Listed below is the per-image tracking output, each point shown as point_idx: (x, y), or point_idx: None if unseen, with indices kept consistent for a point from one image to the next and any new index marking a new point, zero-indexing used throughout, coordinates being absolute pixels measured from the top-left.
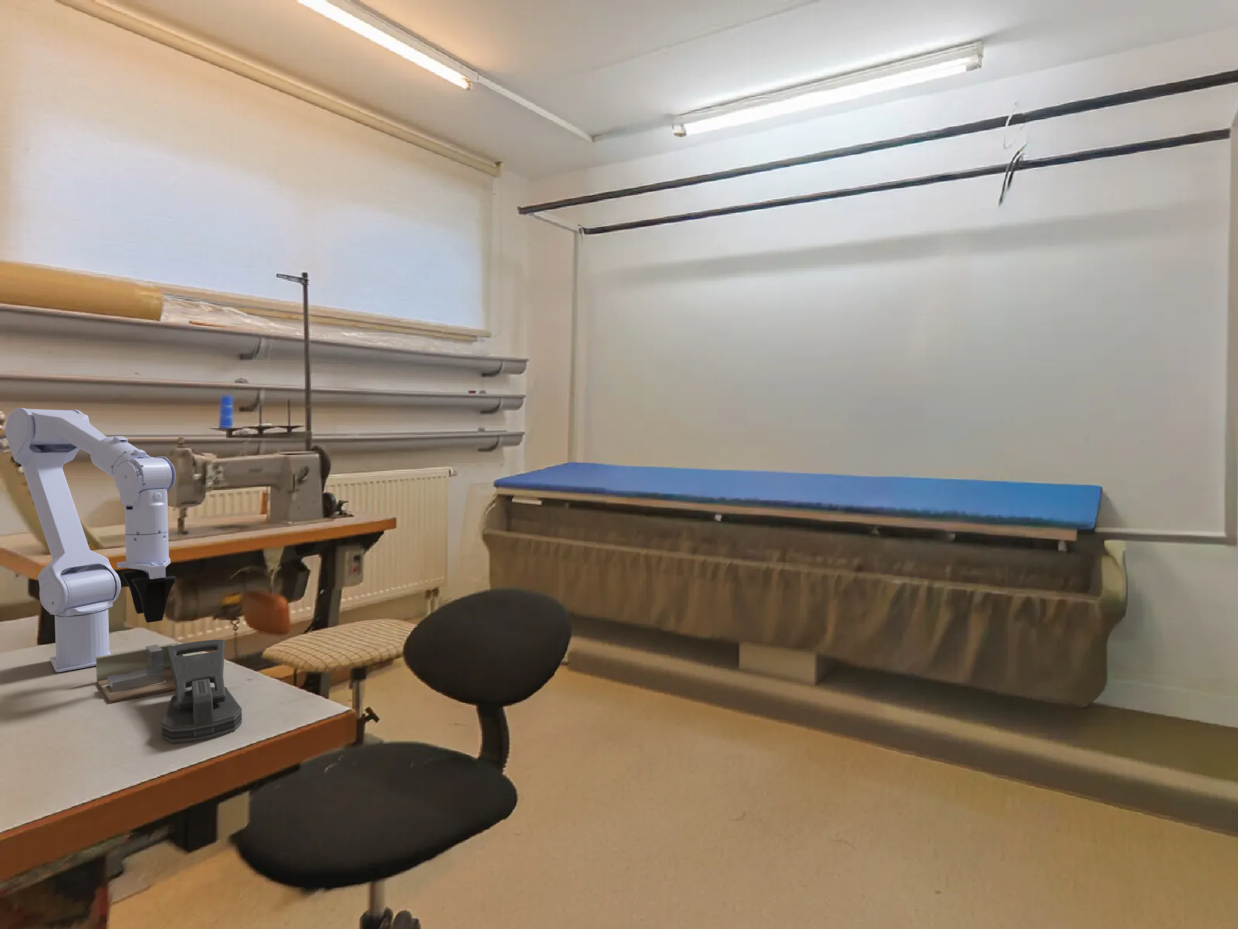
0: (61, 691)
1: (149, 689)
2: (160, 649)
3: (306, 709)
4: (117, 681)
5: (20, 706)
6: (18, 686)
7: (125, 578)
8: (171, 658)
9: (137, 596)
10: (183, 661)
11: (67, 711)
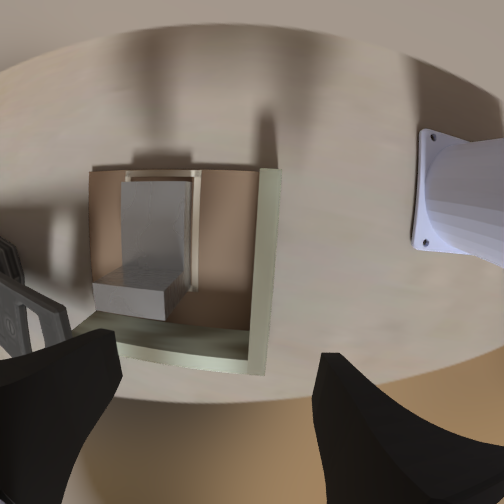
0: (259, 100)
1: (104, 245)
2: (101, 307)
3: None
4: (124, 193)
5: (210, 35)
6: (373, 55)
7: (425, 473)
8: (12, 290)
9: (343, 414)
10: (2, 300)
11: (106, 104)
